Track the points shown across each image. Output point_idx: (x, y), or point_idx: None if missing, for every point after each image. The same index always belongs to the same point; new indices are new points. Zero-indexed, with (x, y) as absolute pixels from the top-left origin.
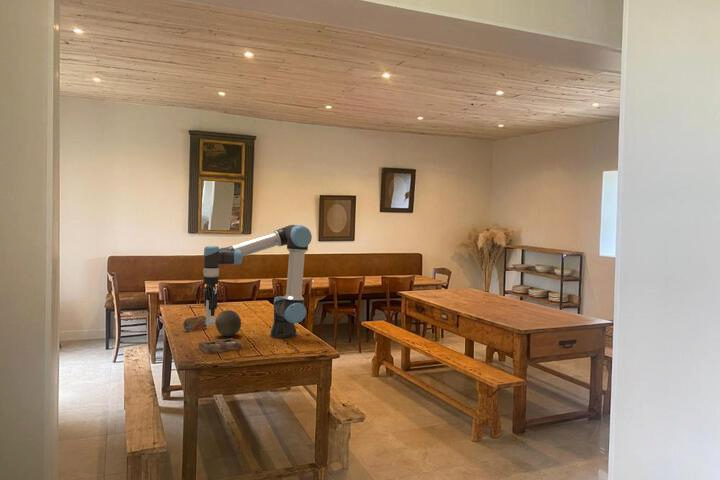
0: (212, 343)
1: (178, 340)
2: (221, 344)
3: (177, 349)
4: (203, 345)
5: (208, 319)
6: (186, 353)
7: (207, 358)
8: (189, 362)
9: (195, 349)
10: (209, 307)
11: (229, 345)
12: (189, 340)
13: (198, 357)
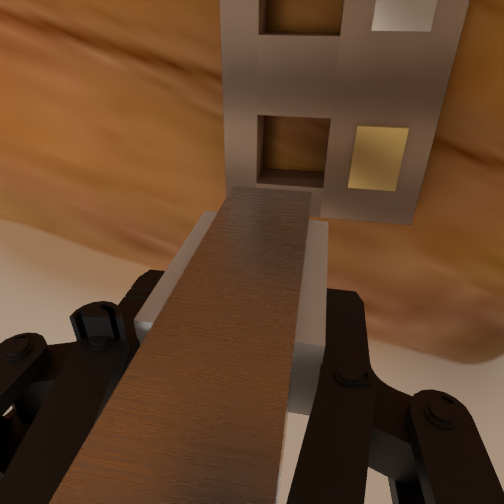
0: (259, 116)
1: (8, 207)
2: (389, 96)
3: None
4: (317, 216)
5: None
6: None
7: (498, 253)
8: (485, 344)
9: None
10: (284, 444)
11: (458, 36)
12: (20, 157)
13: (434, 278)
